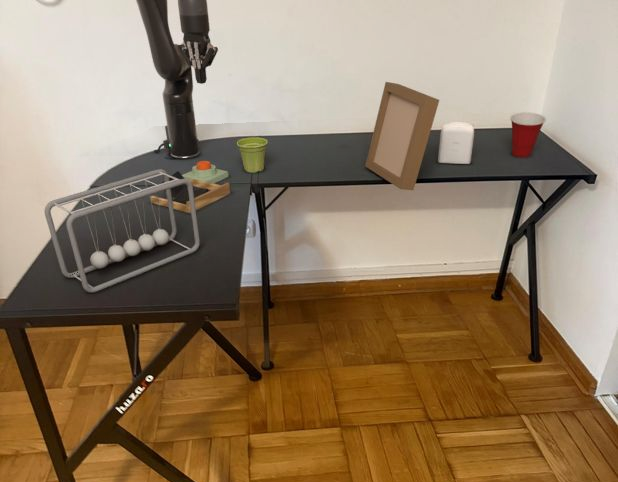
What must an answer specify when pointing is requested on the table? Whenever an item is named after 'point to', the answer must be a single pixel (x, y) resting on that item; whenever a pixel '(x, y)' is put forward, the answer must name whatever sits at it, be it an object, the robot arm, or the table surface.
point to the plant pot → (252, 153)
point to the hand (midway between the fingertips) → (201, 82)
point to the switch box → (206, 174)
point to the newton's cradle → (130, 246)
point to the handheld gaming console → (183, 190)
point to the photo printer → (456, 143)
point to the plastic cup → (525, 132)
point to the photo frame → (401, 134)
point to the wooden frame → (201, 200)
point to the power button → (203, 165)
